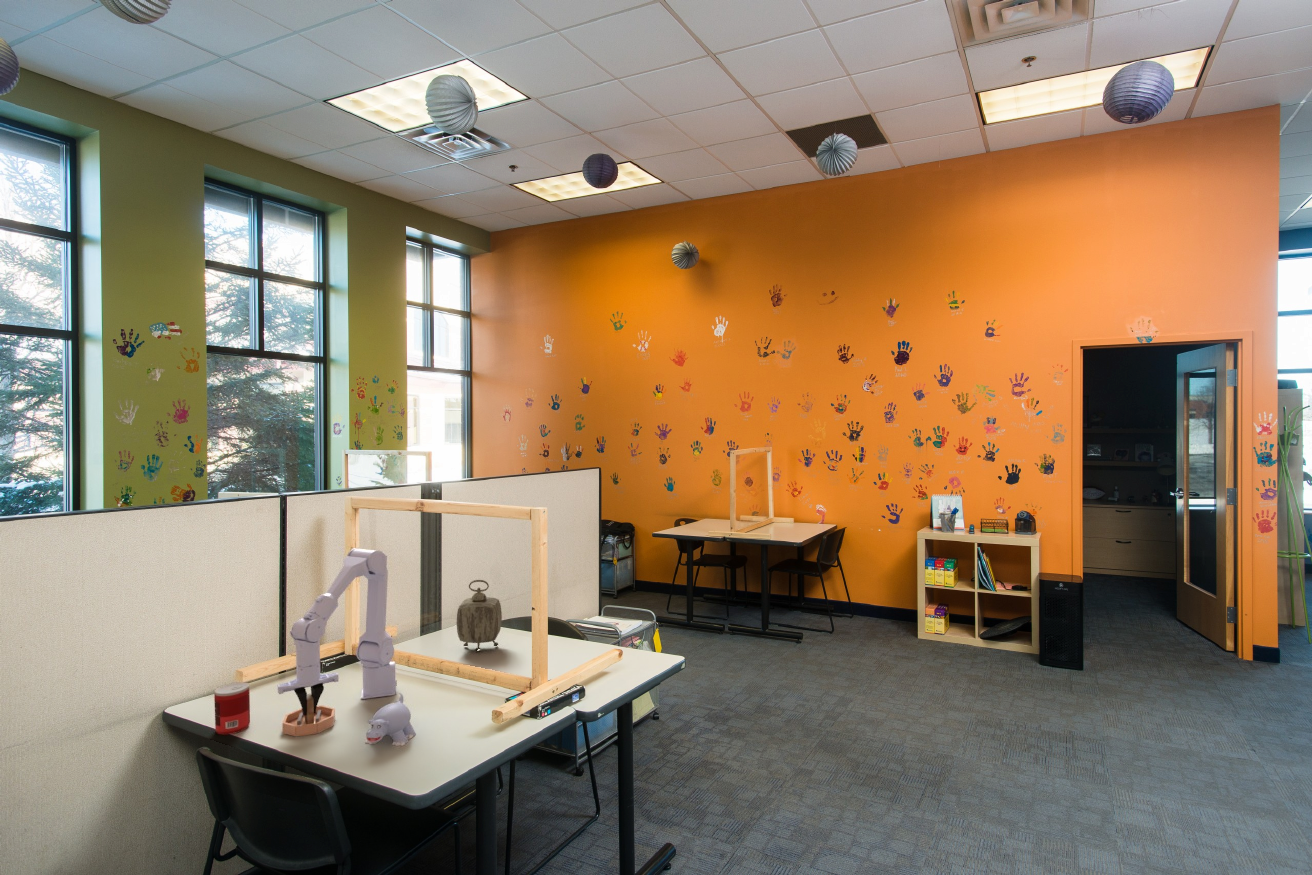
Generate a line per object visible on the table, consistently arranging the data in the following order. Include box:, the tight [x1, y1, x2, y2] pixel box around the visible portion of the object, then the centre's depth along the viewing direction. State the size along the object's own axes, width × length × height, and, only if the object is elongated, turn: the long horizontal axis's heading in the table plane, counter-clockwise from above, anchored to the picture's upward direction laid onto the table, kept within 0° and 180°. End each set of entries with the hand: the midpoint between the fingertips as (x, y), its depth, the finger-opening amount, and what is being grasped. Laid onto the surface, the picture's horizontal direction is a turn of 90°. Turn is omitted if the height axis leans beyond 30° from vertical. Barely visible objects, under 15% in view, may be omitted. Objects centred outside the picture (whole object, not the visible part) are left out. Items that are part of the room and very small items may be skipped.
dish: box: [281, 705, 336, 737], centre depth 186 cm, size 12×12×3 cm
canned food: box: [213, 682, 251, 735], centre depth 185 cm, size 8×8×11 cm
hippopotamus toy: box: [364, 692, 417, 747], centre depth 177 cm, size 11×15×10 cm
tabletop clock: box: [456, 579, 503, 650], centre depth 245 cm, size 14×9×25 cm, turn 93°
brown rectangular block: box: [305, 693, 314, 724], centre depth 186 cm, size 2×4×7 cm, turn 37°
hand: (309, 713), depth 186 cm, fingers closed on brown rectangular block, 1 cm apart
